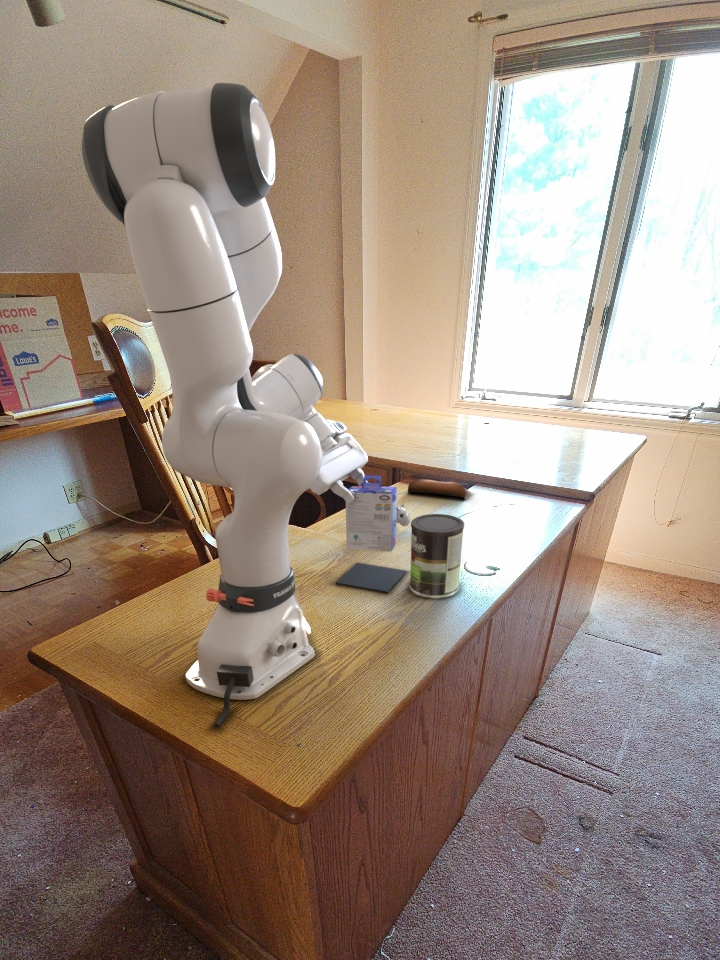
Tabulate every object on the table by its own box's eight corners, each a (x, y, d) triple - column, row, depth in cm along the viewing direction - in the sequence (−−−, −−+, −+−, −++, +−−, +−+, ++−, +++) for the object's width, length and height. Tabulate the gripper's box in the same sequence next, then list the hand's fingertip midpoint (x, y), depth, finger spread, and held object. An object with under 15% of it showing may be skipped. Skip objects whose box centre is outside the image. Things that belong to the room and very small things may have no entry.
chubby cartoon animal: (402, 540, 139) (402, 506, 135) (362, 531, 145) (361, 499, 141) (416, 531, 144) (417, 498, 140) (377, 523, 150) (376, 491, 146)
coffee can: (421, 602, 111) (423, 534, 103) (402, 581, 119) (403, 517, 112) (468, 594, 113) (473, 527, 106) (446, 574, 122) (450, 511, 114)
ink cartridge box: (397, 543, 119) (398, 474, 112) (393, 552, 114) (394, 481, 107) (351, 541, 121) (350, 473, 114) (346, 550, 116) (343, 479, 109)
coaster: (387, 593, 114) (387, 591, 114) (335, 584, 119) (335, 582, 119) (406, 572, 123) (406, 570, 123) (357, 564, 127) (357, 562, 127)
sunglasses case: (472, 491, 170) (470, 475, 165) (466, 508, 168) (463, 492, 162) (417, 485, 177) (413, 469, 172) (409, 502, 174) (406, 486, 169)
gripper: (297, 442, 101) (347, 500, 103) (346, 420, 117) (389, 472, 119) (278, 465, 105) (327, 521, 107) (328, 441, 121) (370, 490, 123)
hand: (360, 495), depth 113 cm, fingers closed on ink cartridge box, 6 cm apart
